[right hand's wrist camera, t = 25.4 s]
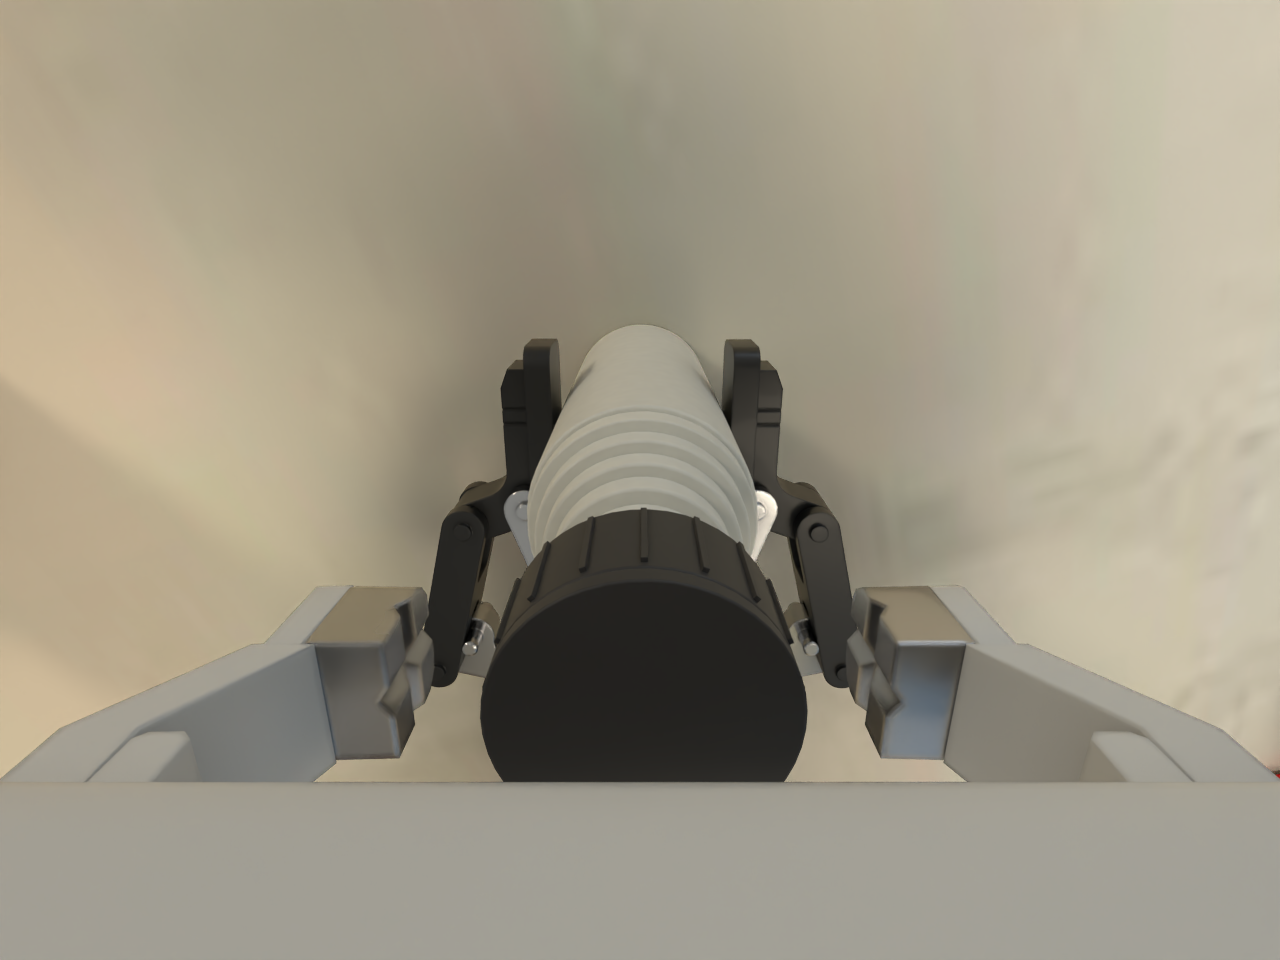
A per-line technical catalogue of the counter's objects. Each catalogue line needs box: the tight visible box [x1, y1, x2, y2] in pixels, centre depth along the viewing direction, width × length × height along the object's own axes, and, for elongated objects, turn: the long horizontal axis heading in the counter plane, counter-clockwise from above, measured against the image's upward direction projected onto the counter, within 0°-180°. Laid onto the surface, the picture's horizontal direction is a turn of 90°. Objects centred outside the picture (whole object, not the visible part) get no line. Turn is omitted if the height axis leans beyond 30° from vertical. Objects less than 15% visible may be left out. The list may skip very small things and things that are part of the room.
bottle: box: [527, 324, 757, 558], centre depth 17 cm, size 5×5×18 cm
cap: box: [480, 508, 807, 782], centre depth 9 cm, size 4×4×2 cm
